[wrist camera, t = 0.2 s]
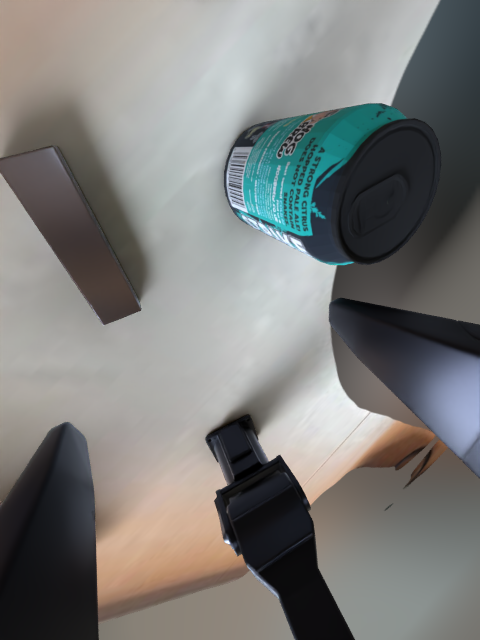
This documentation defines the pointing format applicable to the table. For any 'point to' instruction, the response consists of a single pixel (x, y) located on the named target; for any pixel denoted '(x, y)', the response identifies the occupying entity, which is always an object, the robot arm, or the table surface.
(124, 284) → the brown box
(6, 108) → the table surface
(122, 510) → the table surface
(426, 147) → the beverage can
